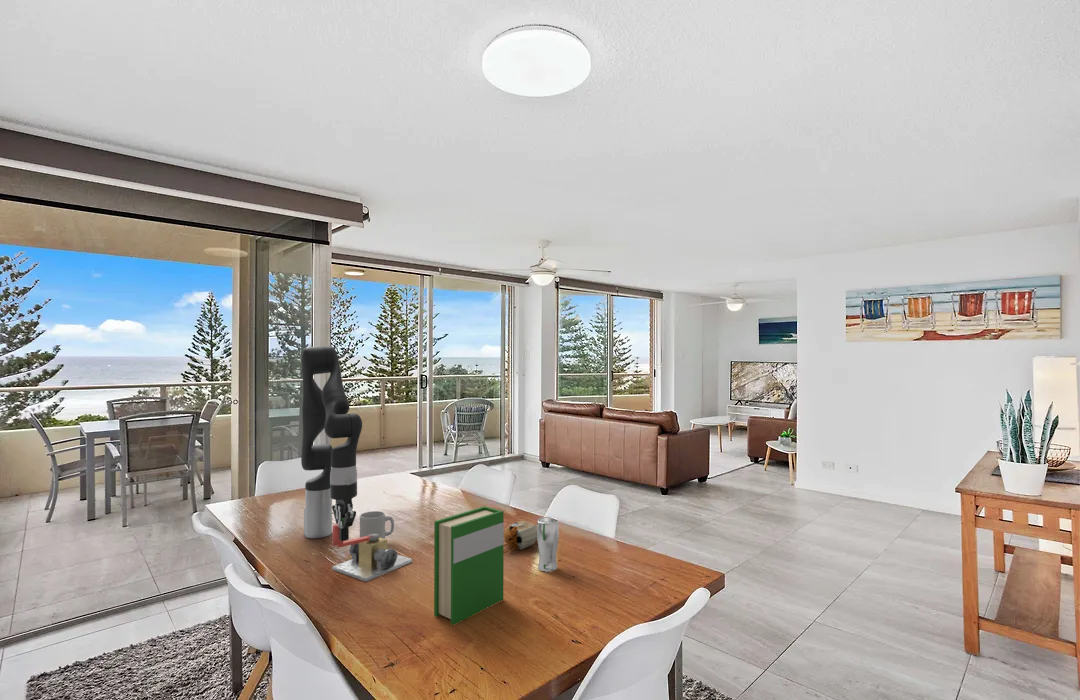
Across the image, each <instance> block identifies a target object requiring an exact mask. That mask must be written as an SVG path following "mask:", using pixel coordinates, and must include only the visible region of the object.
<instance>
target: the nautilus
mask: <svg viewBox="0 0 1080 700" xmlns="http://www.w3.org/2000/svg"><path fill="white" fill-rule="evenodd" d="M504 542H505V543H506V544H504V547H507V546H508V547H507V548H506V549H504V555H505V554H506V553H509V552H510V553H511V552H513V551H516V550H522V549H526V548H528V547H530V546H532V545H533V544H535V543H536V542H537V524H535V523H533V522H529V521H526V520H519V521H515V522H513V523H511V524H510V525H509V524H508V526H507V527H505V528H504Z"/></svg>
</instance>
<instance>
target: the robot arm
mask: <svg viewBox="0 0 1080 700" xmlns="http://www.w3.org/2000/svg"><path fill="white" fill-rule="evenodd" d="M341 371H342V370H341V365H340V360H339V355H338V352H337V350H336V348H335V347H334V346H332V345H331V346H330V345H323V346H322V345H320V346H307V347H304V349H303V350H302V353H301V372H302V373H301V375H302V407H301V411H302V441H301V443H302V444H301V455H300V458H301V460H300V463H301V468H302V469H303V470H304V471H309V472H310V471H322V470H323V471H322V472H321V473H320V474H318V475H317V476H315V477H312V478H309V479H307V480H306V482H305V486H304V488H305V491H304V493H305V494H304V496H305V498H304V499H305V501H304V502H305V503H304V505H305V506H304V510H303V535H304V537H305V538H307V539H321V538H326V537H329V536H331V534H333V517H334V520H335V524H338V527H340V528H339V539H340V540H341V541H347V540H350V538H349V531H350V530H349V528H350V527H353V524H354V521H355V519H356V516H357V512H356V511H357V510H353V509H354V504H353V500H352V499H353V498H356V497H357V495H358V470H357V450H358V444H359V440H360V435H361V434H362V429H363V419H362V418H361V416H360V415H359V414H357V413H355V412H354V413H349V411H350V403H349V400H348V397H347V395H346V392H345V388H344V385H343V384H344V383H343V376H342V372H341ZM321 374H322V375H323V374H330V375H329V377H328V379H327V381H326V382H325V383H324V385H323V388H322V389H321V388H320V386H318V384H317V382H316V381H315V379H314V376H315V375H321ZM323 431H324V434H325V435H326V436H327V437H328V438H330V439H342V438H343V439H345V438H346V441H345V442H344V443H343V444H340V445H337V446H334V447H333V446H332V445H331V444H327V443H325V444H314V443H315V440H316V439H317V437H318V436H319V435H320V434H321V433H322V432H323ZM313 444H314V445H313ZM333 500H335V504H334V505H333Z"/></svg>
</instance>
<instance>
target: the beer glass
mask: <svg viewBox="0 0 1080 700" xmlns="http://www.w3.org/2000/svg"><path fill="white" fill-rule="evenodd" d="M536 526H537V540H536V542H537V543H536V544H537V550H538V554H539V556H538V558H539V559H538V564H537V565H538V566H537V570H538V571H540V570H541V572H542V571H545V572H544V573H551V572H550V571H553V572H555V571H554V570H556V569H557V570H558V564H557V553H558V546H559V539H560V528H559V519H558V518H556V517H554V516H553V517H552V516H543V517H539V518H538V519H537V520H536ZM557 570H556V571H557Z"/></svg>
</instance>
